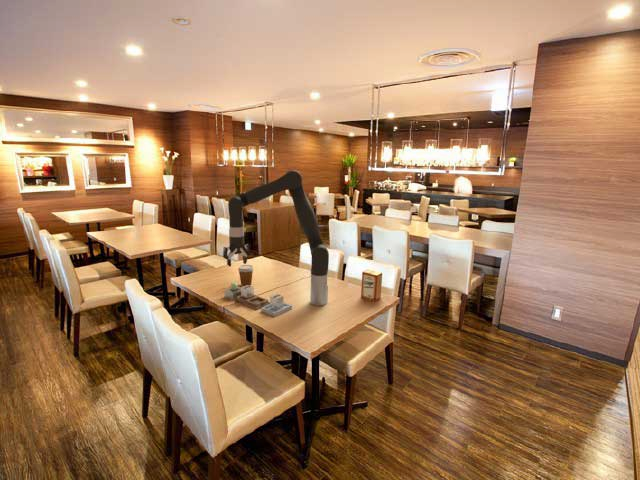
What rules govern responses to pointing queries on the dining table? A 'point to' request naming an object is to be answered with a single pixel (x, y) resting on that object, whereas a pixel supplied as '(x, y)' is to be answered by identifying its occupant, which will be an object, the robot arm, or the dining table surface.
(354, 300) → the dining table surface
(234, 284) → the button
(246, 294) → the block
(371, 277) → the baking soda box
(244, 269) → the disposable coffee cup
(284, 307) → the tray
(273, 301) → the block
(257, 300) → the frame
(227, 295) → the grey button housing
